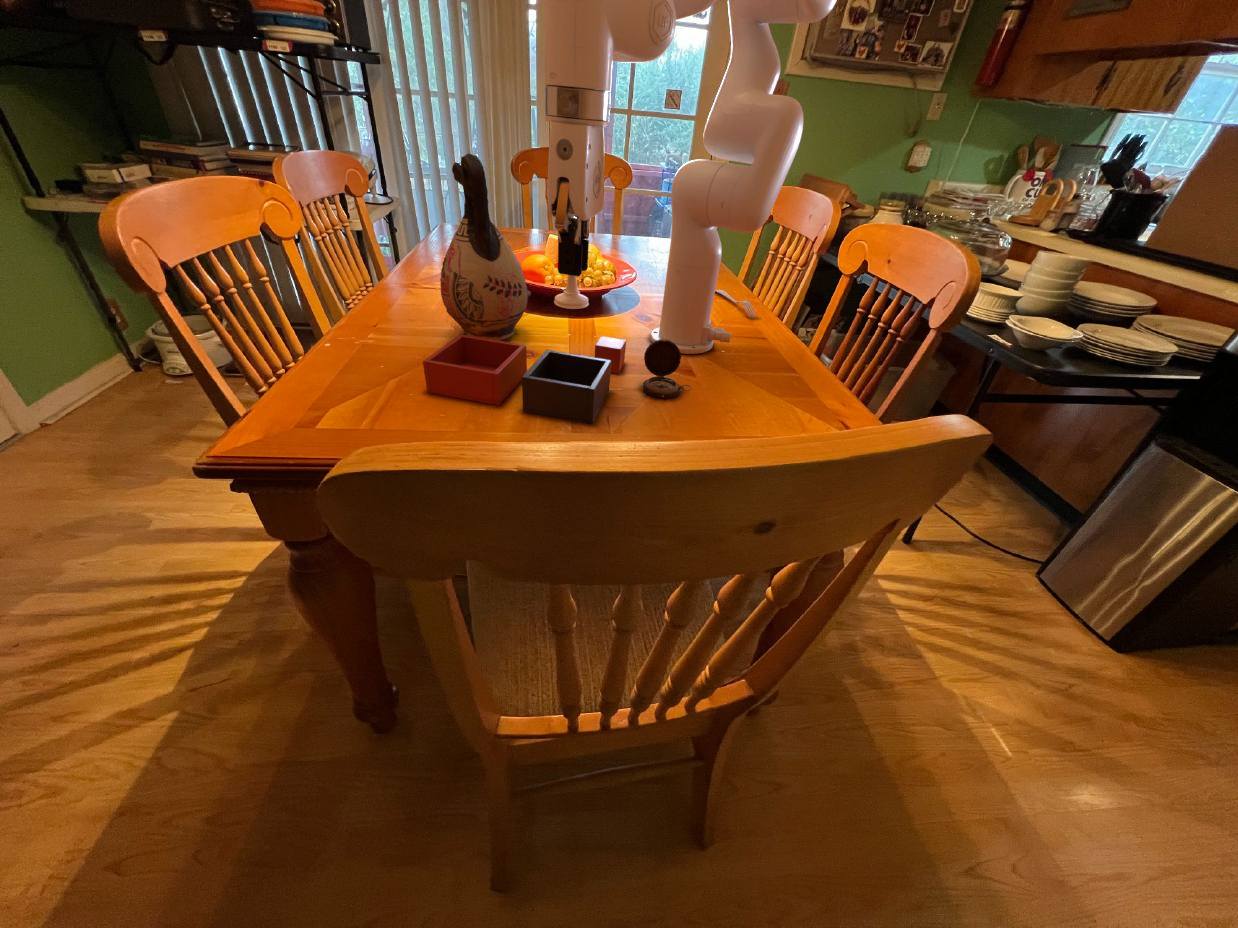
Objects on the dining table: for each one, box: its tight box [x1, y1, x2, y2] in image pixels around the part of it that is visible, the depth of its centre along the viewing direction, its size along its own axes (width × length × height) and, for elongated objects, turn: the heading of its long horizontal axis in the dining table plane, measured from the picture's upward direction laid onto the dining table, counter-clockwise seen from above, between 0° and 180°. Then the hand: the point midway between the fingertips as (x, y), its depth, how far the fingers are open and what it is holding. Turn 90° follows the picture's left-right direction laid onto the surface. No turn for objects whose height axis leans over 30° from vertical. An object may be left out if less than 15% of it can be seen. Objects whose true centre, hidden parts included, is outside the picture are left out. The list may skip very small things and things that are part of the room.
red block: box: [594, 335, 627, 374], centre depth 88 cm, size 4×4×4 cm
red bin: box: [422, 333, 528, 406], centre depth 79 cm, size 12×12×5 cm
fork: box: [715, 289, 758, 319], centre depth 126 cm, size 3×21×3 cm, turn 15°
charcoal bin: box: [521, 349, 612, 425], centre depth 76 cm, size 11×11×6 cm
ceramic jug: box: [439, 153, 529, 341], centre depth 88 cm, size 17×15×30 cm
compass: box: [642, 339, 692, 399], centre depth 82 cm, size 8×8×7 cm
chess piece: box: [553, 227, 590, 310], centre depth 69 cm, size 5×5×10 cm
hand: (573, 270), depth 69 cm, fingers closed on chess piece
